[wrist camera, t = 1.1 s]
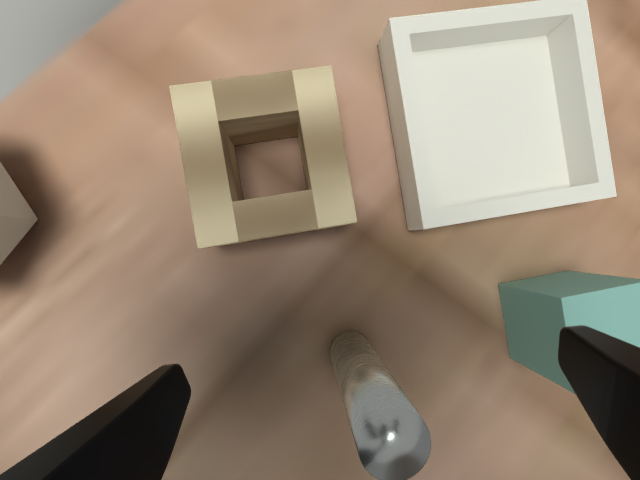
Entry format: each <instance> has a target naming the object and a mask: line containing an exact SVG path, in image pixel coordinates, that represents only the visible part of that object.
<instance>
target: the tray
mask: <svg viewBox="0 0 640 480" xmlns="http://www.w3.org/2000/svg"><path fill="white" fill-rule="evenodd" d="M378 52H379V58H380V64H381V70H382V76H383V82H384V88H385V94H386V100H387V107H388V113H389V119H390V125H391V131H392V137H393V143H394V149H395V155H396V162H397V168H398V174H399V180H400V186H401V192H402V198H403V204H404V210H405V216H406V223H407V229H408V231H410V230H423V229H429V228H435V227H441V226H447V225H453V224H459V223H464V222H470V221H476V220H482V219H488V218H494V217H499V216H505V215H511V214H517V213H523V212H529V211H534V210H540V209H546V208H552V207H558V206H564V205H569V204H575V203H581V202H587V201H593V200H599V199H604V198H610V197H616V196H617V195H616V188H615V182H614V175H613V169H612V162H611V156H610V149H609V142H608V136H607V129H606V123H605V116H604V110H603V103H602V97H601V90H600V83H599V77H598V70H597V64H596V57H595V51H594V44H593V37H592V31H591V24H590V18H589V11H588V5H587V0H541V1H532V2H523V3H515V4H506V5H498V6H489V7H481V8H472V9H464V10H455V11H446V12H438V13H429V14H421V15H412V16H404V17H395V18H389V20H388V22H387V25H386V27H385V30H384V32H383V34H382V37H381V39H380V41H379V44H378Z"/></svg>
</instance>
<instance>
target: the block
mask: <svg viewBox="0 0 640 480" xmlns="http://www.w3.org/2000/svg"><path fill="white" fill-rule="evenodd" d="M498 287H499V293H500V299H501V305H502V312H503V318H504V324H505V330H506V337H507V343H508V349H509V355H510V358H511V359H513V360H515V361H517V362H519V363H520V364H522V365H524V366H526V367H528V368H529V369H531V370H533V371H535V372H537V373H538V374H540V375H542V376H544V377H546V378H547V379H549V380H551V381H553V382H555V383H556V384H558V385H560V386H562V387H564V388H565V389H567V390H569V391H571V392H573V393H574V394H575V392H574V390H573V389H572V387H571V385H570V383H569V382H568V380H567V378H566V377H565V375H564V373H563V372H562V370H561V368H560V365H559V362H558V347H559V334H560V330H561V329H562V328H563V327H566V326H577V325H585V326H588V327H590V328H593V329H595V330H598V331H600V332H603V333H605V334H608V335H610V336H613V337H615V338H618V339H620V340H623V341H625V342H627V343H630V344H632V345H635V346H637V347H640V279H634V278H626V277H617V276H609V275H600V274H591V273H583V272H574V271H563V272H558V273H553V274H548V275H542V276H537V277H532V278H527V279H521V280H516V281H511V282H505V283H500V284H498Z"/></svg>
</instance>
